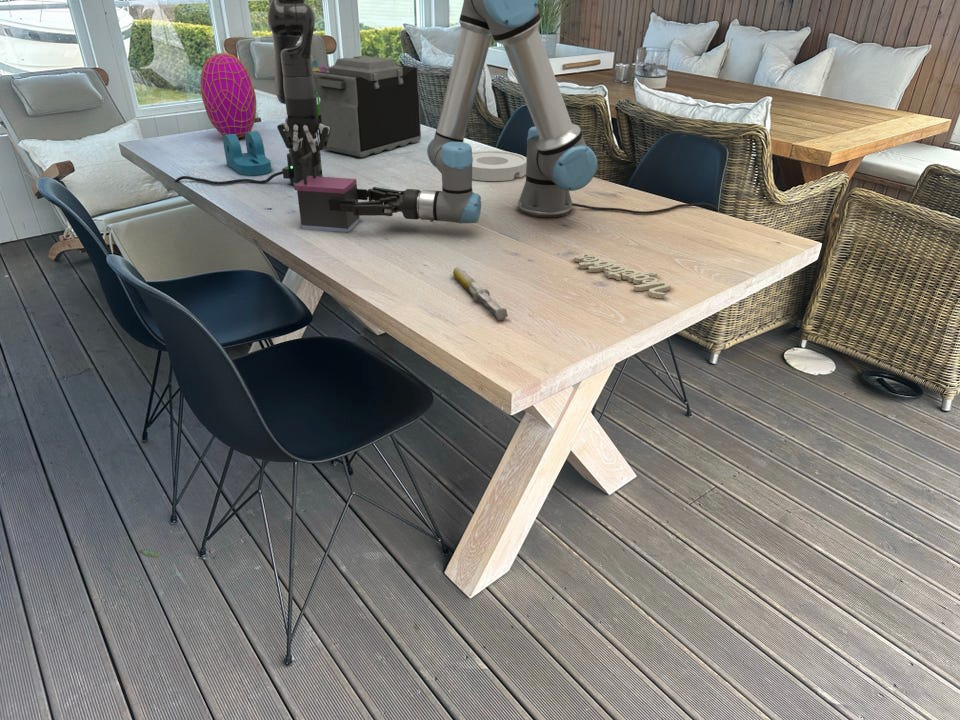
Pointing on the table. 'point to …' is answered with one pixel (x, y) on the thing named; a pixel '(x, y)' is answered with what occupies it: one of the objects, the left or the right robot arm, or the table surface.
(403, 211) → the right robot arm
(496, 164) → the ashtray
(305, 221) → the chest
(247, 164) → the camera mount
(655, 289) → the decorative sign
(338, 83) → the tool box
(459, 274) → the yellow and grey rod
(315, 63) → the potted flower
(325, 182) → the lid
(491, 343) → the table surface
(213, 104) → the decorative egg
